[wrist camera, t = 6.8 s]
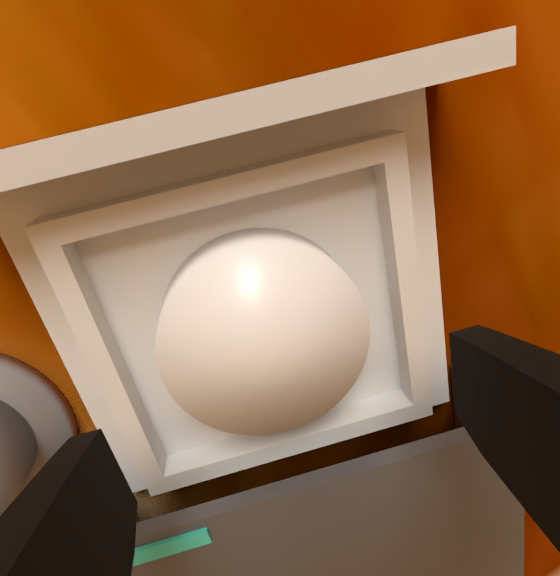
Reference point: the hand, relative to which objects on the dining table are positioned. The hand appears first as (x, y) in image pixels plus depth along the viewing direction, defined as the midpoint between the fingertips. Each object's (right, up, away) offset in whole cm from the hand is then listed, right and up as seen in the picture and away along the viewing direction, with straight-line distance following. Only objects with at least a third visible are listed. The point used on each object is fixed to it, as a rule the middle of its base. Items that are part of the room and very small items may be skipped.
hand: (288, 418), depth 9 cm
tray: (-1, +2, +5) cm, 5 cm away
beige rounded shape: (-1, +2, +4) cm, 4 cm away
